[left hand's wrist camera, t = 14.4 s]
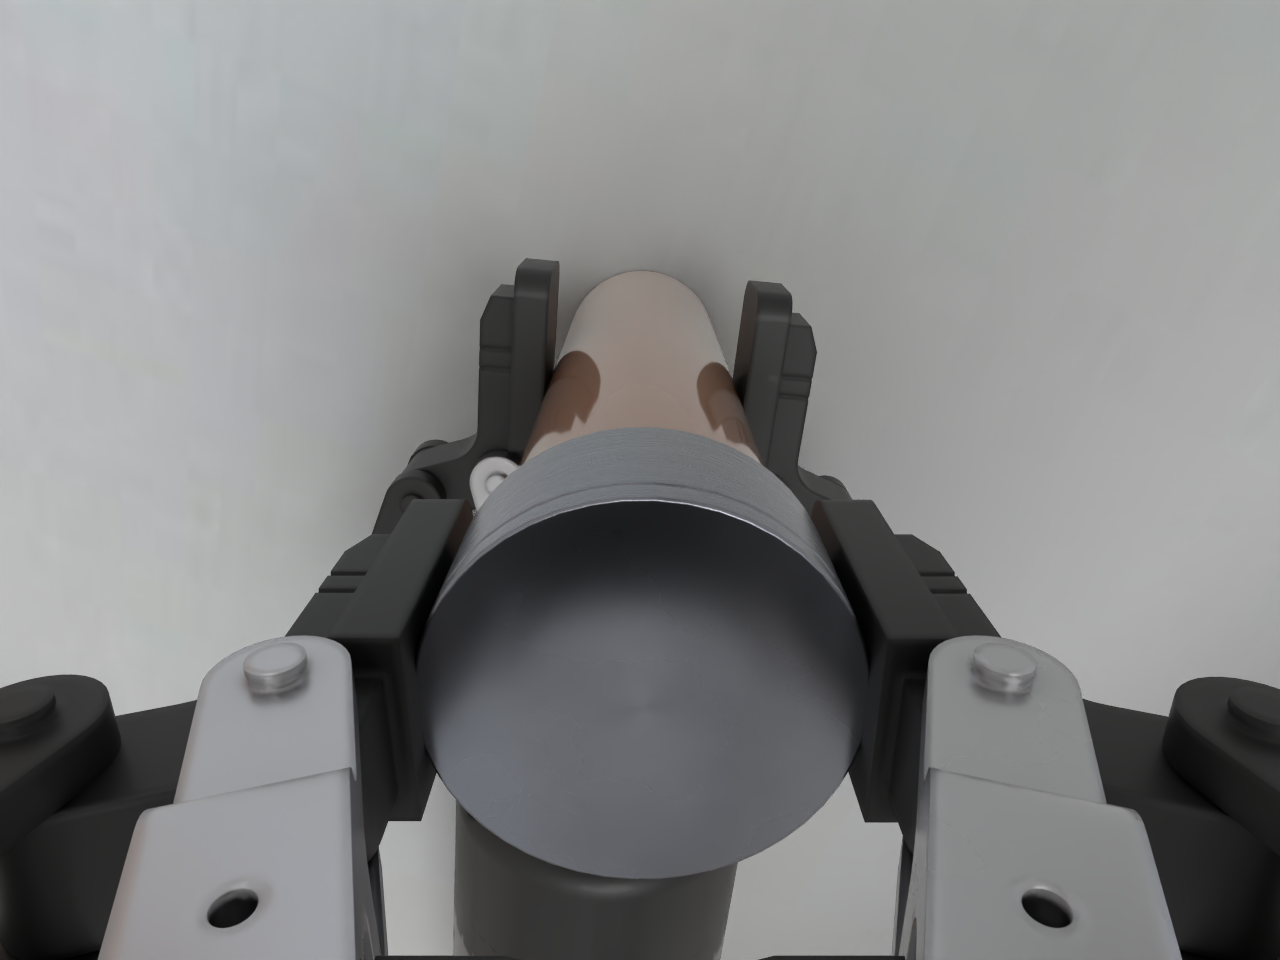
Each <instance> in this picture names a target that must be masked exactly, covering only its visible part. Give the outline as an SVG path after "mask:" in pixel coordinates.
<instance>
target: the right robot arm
mask: <svg viewBox="0 0 1280 960" xmlns="http://www.w3.org/2000/svg"><path fill="white" fill-rule="evenodd" d="M558 289H559V261H549V260H539V259H528V258H526V259H525V260H524V261H523V262H522V263H521V264H520V265H519V266H518V268H517V271H516V277H515V285H504V284H502V285H501V286H500V287H499V288H498V289H497V290H496V291H495V292H494V293H493V294H492V295H491V297H490V299H489V301H488V304H487V306H486V308H485V310H484V313H483V315H482V317H481V319H480V354H479V366H480V368H479V395H478V431H477V433H476V434H475V435H473V436H471V437H469V438H466V439H463V440H459V441H455V442H451V443H448V442H445V441H442V440H430V441H427V442H424V443H423V444H421V445H420V446H419V447H418V448H417V450H416V451H415V452H414V454H413V455H412V456H411V458H410V460H409V463H408V466H407V467H406V468H405V470H404V471H403V473H402V474H400V475H399V476H398V477H397V478H396V479H395V480H394V482H393V483H392V484H391V486H390V487H389V489H388V490H387V492H386V495H385V498H384V501H383V503H382V506H381V509H380V512H379V515H378V518H377V521H376V524H375V526H374V529H373V532H372V534H391V533H392V531H393V530H394V528H395V527H396V525H397V523H398V522H399V520H400V519H401V517H402V515H403V514H404V512H405V511H406V509H407V507H408V506H409V504H410V503H411V501H412V500H414V499H468V500H469V502H470V505H471V508H472V510H474V509H476V510H477V511H478V510H479V508H480V507H481V506H482V504H483V503H484V502H485V500H486V499H487V498H488V496H489V495H490V493H491V492H492V491H493V490H494V489H495V488H496V487H497V486H498V485H499V484H500V483H501V482H502V481H503V480H504V479H505V478H506V477H507V476H508V475H510V474H511V473H512V472H514V471H515V470H516V469H517V468H518V466H519V464H520V461H521V458H522V456H523V453H524V450H525V447H526V445H527V442H528V439H529V437H530V434H531V431H532V429H533V426H534V423H535V421H536V418H537V415H538V412H539V410H540V407H541V404H542V402H543V399H544V396H545V394H546V391H547V388H548V386H549V383H550V380H551V377H552V375H553V372H554V359H555V341H556V324H557V306H558ZM816 354H817V351H816V346H815V342H814V337H813V333H812V328H811V326H810V325H809V324H808V323H807V322H806V320H805V319H804V318H803V317H802V316H801V315H800V314H799V313H792V296H791V293H790V292H789V291H788V290H787V289H786V288H785V287H784V286H783V285H782V284H779V283H769V282H759V281H748V283H747V286H746V290H745V295H744V302H743V309H742V316H741V323H740V330H739V338H738V345H737V352H736V359H735V366H734V373H733V382H734V385H735V387H736V390H737V393H738V395H739V398H740V401H741V403H742V406H743V409H744V411H745V414H746V417H747V419H748V422H749V425H750V427H751V430H752V433H753V435H754V438H755V441H756V443H757V446H758V448H759V451H760V454H761V456H762V459H763V462H764V464H765V467H766V468H767V469H768V470H769V471H771V472H772V473H773V474H774V475H775V476H776V477H778V478H779V479H780V480H781V481H782V482H783V483H784V484H785V485H786V486H787V487H788V488H789V489H790V490H791V491H792V493H793V494H794V495H795V496H796V498H797V499H798V500H799V502H800V503H801V504H802V505H803V507H804V508H805V509H806V511H807V513H808V515H809V516H810V518H811V517H812V511H813V507H814V504H815V502H816V501H817V500H852V498H851V497H850V495H849V493H848V491H847V490H846V488H845V486H844V485H843V484H842V482H840V481H839V480H838V479H836V478H834V477H831V476H817V475H815V474H813V473H810V472H808V471H806V470H804V469H802V468H801V467H799V466H798V457H799V451H800V445H801V440H802V434H803V428H804V423H805V417H806V411H807V405H808V397H809V394H810V388H811V383H812V382H811V379H812V377H813V371H814V365H815V360H816ZM737 863H738V862H737ZM737 863H734V864H731V865H727V866H724V867H721V868H718V869H715V870H712V871H707V872H703V873H698V874H693V875H688V876H682V877H673V878H664V879H622V878H610V877H602V876H597V875H591V874H586V873H581V872H576V871H573V870H570V869H566V868H563V867H560V866H556V865H553V864H550V863H548V862H546V861H543V860H541V859H538V858H536V857H534V856H531V855H529V854H527V853H525V852H523V851H521V850H519V849H518V848H516V847H514V846H512V845H510V844H509V843H507V842H505V841H503V840H502V839H501V838H499V837H498V836H496V835H495V834H494V833H492V832H491V831H489V830H488V829H487V828H485V827H484V826H483V825H481V824H480V823H479V822H478V821H477V820H476V819H475V818H474V817H473V816H472V815H470V814H469V813H468V812H467V811H466V810H465V809H464V808H463V807H462V806H461V805H460V803H459V802H458V801H457V800H456V848H455V889H454V950H453V956H508V957H512V958H517V959H521V960H720V958H721V952H722V947H723V941H724V935H725V929H726V924H727V918H728V913H729V907H730V902H731V897H732V891H733V886H734V880H735V874H736V869H737Z"/></svg>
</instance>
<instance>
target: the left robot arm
mask: <svg viewBox="0 0 1280 960" xmlns="http://www.w3.org/2000/svg"><path fill="white" fill-rule="evenodd" d="M472 520H473V514H472V508H471V505H470V502H469V500H468V499H414V500H412V501H411V503H410V504H409V506H408V507H407V509H406V511H405V512H404V514H403V515H402V517H401V519H400V520H399V522H398V523H397V525H396V527H395V528H394V530H393V531H392V533H391V534H372V535H370V536H369V537H367V538H366V539H364V540H363V541H361V542H359V543H358V544H356V545H355V546H353V547H351V548H350V549H348V550H347V551H345V552H344V554H343V555H342V556H341V558H340V559H339V561H338V562H337V564H336V565H335V566H334V568H333V569H332V571H331V576H327V578H326V579H325V580H324V582H323V583H322V585H321V586H320V588H319V593H315V595H314V596H313V597H312V599H311V600H310V602H309V603H308V604H307V606H306V607H305V609H304V610H303V612H302V613H301V614H300V616H299V617H298V619H297V620H296V621H295V623H294V624H293V626H292V627H291V629H290V630H289V631H288V633H287V634H286V636H285V637H280V638H275V639H270V640H266V641H263V642H259V643H256V644H253V645H251V646H248V647H245V648H243V649H241V650H239V651H237V652H235V653H233V654H231V655H229V656H228V657H226V658H224V659H223V660H222V661H220V662H219V663H218V664H216V665H215V666H214V667H213V668H212V669H211V670H210V671H209V672H208V673H207V675H206V676H205V678H204V679H203V681H202V684H201V686H200V691H199V695H198V699H197V700H195V701H191V702H186V703H182V704H177V705H172V706H167V707H162V708H156V709H151V710H146V711H140V712H135V713H130V714H125V715H119V716H115V714H114V710H113V707H112V703H111V699H110V696H109V692H108V690H107V688H106V686H105V685H104V684H103V683H102V682H100V681H98V680H96V679H94V678H91V677H87V676H81V675H54V676H46V677H40V678H34V679H30V680H26V681H22V682H18V683H15V684H12V685H9V686H6V687H3V688H0V960H521V959H517V958H512V957H508V956H388V946H387V932H386V919H385V905H384V891H383V877H382V866H381V860H380V853H379V844H380V842H381V839H382V837H383V834H384V831H385V829H386V826H387V823H388V821H421V819H422V816H423V813H424V810H425V807H426V804H427V801H428V797H429V794H430V791H431V788H432V785H433V782H434V779H435V776H436V771H435V769H434V767H433V765H432V763H431V761H430V758H429V756H428V754H427V752H426V750H425V745H424V737H423V729H422V720H421V711H420V703H419V694H418V685H417V676H416V665H415V664H416V654H417V649H418V644H419V641H420V639H421V636H422V633H423V630H424V627H425V624H426V622H427V619H428V617H429V615H430V612H431V610H432V608H433V606H434V604H435V601H436V599H437V596H438V594H439V592H440V590H441V587H442V585H443V583H444V581H445V578H446V576H447V574H448V572H449V569H450V567H451V565H452V562H453V560H454V558H455V556H456V553H457V551H458V549H459V547H460V544H461V542H462V540H463V538H464V535H465V533H466V531H467V529H468V527H469V525H470V524H471V522H472ZM811 520H812V522H813V523H814V525H815V527H816V529H817V531H818V533H819V535H820V538H821V540H822V542H823V544H824V547H825V549H826V551H827V553H828V556H829V558H830V560H831V562H832V564H833V567H834V569H835V571H836V573H837V576H838V578H839V580H840V582H841V585H842V587H843V589H844V591H845V593H846V596H847V598H848V601H849V602H850V605H851V607H852V609H853V611H854V614H855V616H856V618H857V621H858V624H859V626H860V629H861V631H862V634H863V637H864V639H865V643H866V647H867V652H868V657H869V661H870V671H869V682H868V691H867V700H866V708H865V716H864V725H863V733H862V740H861V746H860V748H859V750H858V753H857V755H856V757H855V760H854V762H853V764H852V766H851V768H850V769H849V771H848V772H849V775H850V778H851V781H852V784H853V787H854V790H855V794H856V797H857V800H858V803H859V806H860V809H861V812H862V815H863V818H864V821H865V822H898V823H899V826H900V829H901V831H902V834H903V839H902V846H901V853H900V859H899V866H898V877H897V891H896V905H895V918H894V932H893V946H892V956H772V957H768V958H763V959H759V960H1280V689H1277V688H1274V687H1271V686H1268V685H1265V684H1261V683H1257V682H1252V681H1248V680H1242V679H1236V678H1227V677H1205V678H1197V679H1194V680H1190V681H1188V682H1186V683H1184V684H1182V685H1181V686H1180V687H1179V688H1178V689H1177V691H1176V693H1175V696H1174V699H1173V703H1172V706H1171V710H1170V714H1169V717H1166V716H1161V715H1156V714H1151V713H1145V712H1140V711H1135V710H1130V709H1124V708H1119V707H1114V706H1109V705H1104V704H1100V703H1095V702H1092V701H1088V700H1085V699H1082V695H1081V691H1080V687H1079V684H1078V681H1077V679H1076V678H1075V676H1074V675H1073V673H1072V672H1071V671H1070V670H1069V669H1068V668H1067V667H1066V666H1065V665H1064V664H1062V663H1061V662H1060V661H1058V660H1057V659H1056V658H1054V657H1052V656H1051V655H1049V654H1047V653H1045V652H1043V651H1041V650H1039V649H1037V648H1035V647H1032V646H1029V645H1027V644H1024V643H1021V642H1017V641H1014V640H1010V639H1005V638H1001V636H1000V635H999V633H998V632H997V631H996V629H995V628H994V627H993V625H992V624H991V622H990V621H989V620H988V618H987V617H986V615H985V614H984V613H983V611H982V610H981V608H980V607H979V606H978V604H977V603H976V601H975V600H974V599H973V597H972V596H971V595H970V594H967V589H966V588H965V586H964V585H963V583H962V582H961V581H960V579H959V578H958V576H955V575H954V573H955V572H954V571H953V570H952V568H951V567H950V565H949V564H948V563H947V561H946V560H945V558H944V557H943V556H942V554H941V553H940V552H939V551H937V550H936V549H934V548H933V547H931V546H929V545H928V544H926V543H925V542H923V541H921V540H920V539H918V538H917V537H915V536H913V535H894V533H893V532H892V530H891V529H890V527H889V525H888V524H887V522H886V521H885V519H884V518H883V516H882V514H881V513H880V511H879V510H878V508H877V507H876V505H875V503H874V502H873V501H872V500H817V501H816V502H815V504H814V507H813V511H812V517H811Z"/></svg>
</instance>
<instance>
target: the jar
mask: <svg viewBox="0 0 1280 960" xmlns="http://www.w3.org/2000/svg"><path fill="white" fill-rule="evenodd" d="M629 427H655V428H664V429H673V430H681V431H685V432H689V433H693V434H697V435H701V436H705V437H708V438H711V439H713V440H716V441H718V442H721V443H724V444H726V445H729V446H731V447H733V448H735V449H737V450H738V451H740V452H742V453H744V454H746V455H748V456H749V457H751V458H753V459H754V460H756V461H757V462H758V463H760V464H761V465H763V466H764V467H765V464H764V462H763V459H762V456H761V454H760V451H759V448H758V446H757V443H756V441H755V438H754V435H753V433H752V430H751V427H750V425H749V422H748V419H747V417H746V414H745V411H744V409H743V406H742V403H741V401H740V398H739V395H738V393H737V390H736V387H735V385H734V382H733V379H732V377H731V374H730V371H729V369H728V366H727V363H726V361H725V358H724V355H723V353H722V350H721V348H720V345H719V342H718V340H717V337H716V334H715V332H714V329H713V326H712V324H711V321H710V318H709V316H708V314H707V311H706V309H705V308H704V306H703V304H702V303H701V301H700V300H699V299H698V297H697V296H696V295H695V294H694V293H693V292H692V291H691V290H690V289H689V288H688V287H687V286H685V285H684V284H683V283H681V282H680V281H678V280H676V279H674V278H672V277H670V276H667V275H665V274H661V273H657V272H652V271H631V272H625V273H622V274H619V275H615V276H613V277H611V278H609V279H607V280H605V281H604V282H602V283H600V284H599V285H597V286H596V287H595V288H594V289H593V290H592V291H591V292H590V293H589V294H588V295H587V296H586V297H585V298H584V300H583V301H582V303H581V304H580V306H579V307H578V309H577V311H576V313H575V316H574V318H573V321H572V324H571V326H570V329H569V332H568V334H567V337H566V340H565V342H564V345H563V348H562V351H561V353H560V356H559V359H558V361H557V364H556V367H555V369H554V372H553V375H552V377H551V380H550V383H549V386H548V388H547V391H546V394H545V396H544V399H543V402H542V404H541V407H540V410H539V412H538V415H537V418H536V421H535V423H534V426H533V429H532V431H531V434H530V437H529V439H528V442H527V445H526V447H525V450H524V453H523V456H522V458H521V461H520V464H519V466H518V468H519V467H520V466H521V465H523V464H524V463H525V462H527V461H528V460H530V459H531V458H533V457H535V456H537V455H538V454H540V453H542V452H544V451H545V450H547V449H549V448H551V447H553V446H556V445H558V444H561V443H563V442H566V441H568V440H570V439H573V438H576V437H580V436H583V435H587V434H591V433H595V432H598V431H605V430H612V429H619V428H629ZM765 468H766V467H765Z"/></svg>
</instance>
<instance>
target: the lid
mask: <svg viewBox="0 0 1280 960" xmlns="http://www.w3.org/2000/svg"><path fill="white" fill-rule="evenodd" d="M415 665H416V676H417V685H418V694H419V703H420V711H421V720H422V729H423V737H424V745H425V750H426V752H427V754H428V756H429V758H430V761H431V763H432V765H433V767H434V769H435V771H436V772H437V774H438V775H439V777H440V778H441V780H442V781H443V783H444V785H445V786H446V788H447V789H448V790H449V792H450V793H451V794H452V795H453V796H454V797H455V799H456V800H457V801H458V802H459V803H460V805H461V806H462V807H463V808H464V809H465V810H466V811H467V812H468V813H469V814H470V815H472V816H473V817H474V818H475V819H476V820H477V821H478V822H479V823H480V824H481V825H483V826H484V827H485V828H487V829H488V830H489V831H491V832H492V833H494V834H495V835H496V836H498V837H499V838H501V839H502V840H503V841H505V842H507V843H509V844H510V845H512V846H514V847H516V848H518V849H519V850H521V851H523V852H525V853H527V854H529V855H531V856H534V857H536V858H538V859H541V860H543V861H546V862H548V863H550V864H553V865H556V866H560V867H563V868H566V869H570V870H573V871H576V872H581V873H586V874H591V875H597V876H602V877H610V878H622V879H664V878H673V877H682V876H688V875H693V874H698V873H703V872H707V871H712V870H715V869H718V868H721V867H724V866H727V865H731V864H734V863H737V862H739V861H741V860H744V859H746V858H748V857H750V856H753V855H755V854H757V853H760V852H762V851H763V850H765V849H767V848H769V847H770V846H772V845H774V844H775V843H777V842H779V841H781V840H782V839H784V838H785V837H787V836H788V835H789V834H791V833H792V832H794V831H795V830H796V829H798V828H799V827H800V826H802V825H803V824H804V823H805V822H806V821H808V820H809V819H810V818H811V817H812V816H813V815H814V814H815V813H816V812H817V811H818V810H819V809H820V808H821V807H822V806H823V805H824V804H825V803H826V802H827V800H828V799H829V798H830V797H831V795H832V794H833V793H834V792H835V791H836V789H837V788H838V787H839V786H840V784H841V782H842V781H843V779H844V777H845V776H846V774H847V773H848V771H849V769H850V768H851V766H852V764H853V762H854V760H855V757H856V755H857V753H858V750H859V748H860V746H861V740H862V733H863V725H864V716H865V708H866V700H867V691H868V682H869V671H870V661H869V657H868V652H867V647H866V643H865V639H864V637H863V634H862V631H861V629H860V626H859V624H858V621H857V618H856V616H855V614H854V611H853V609H852V607H851V605H850V602H849V601H848V598H847V596H846V593H845V591H844V589H843V587H842V585H841V582H840V580H839V578H838V576H837V573H836V571H835V569H834V567H833V564H832V562H831V560H830V558H829V556H828V553H827V551H826V549H825V547H824V544H823V542H822V540H821V538H820V535H819V533H818V531H817V529H816V527H815V525H814V523H813V522H812V520H811V518H810V516H809V515H808V513H807V511H806V509H805V508H804V507H803V505H802V504H801V503H800V502H799V500H798V499H797V498H796V496H795V495H794V494H793V493H792V491H791V490H790V489H789V488H788V487H787V486H786V485H785V484H784V483H783V482H782V481H781V480H780V479H779V478H778V477H776V476H775V475H774V474H773V473H772V472H771V471H769V470H768V469H767V468H765V467H764V466H763V465H761V464H760V463H758V462H757V461H756V460H754V459H753V458H751V457H749V456H748V455H746V454H744V453H742V452H740V451H738V450H737V449H735V448H733V447H731V446H729V445H726V444H724V443H721V442H718V441H716V440H713V439H711V438H708V437H705V436H701V435H697V434H693V433H689V432H685V431H681V430H673V429H664V428H655V427H629V428H619V429H612V430H605V431H598V432H595V433H591V434H587V435H583V436H580V437H576V438H573V439H570V440H568V441H566V442H563V443H561V444H558V445H556V446H553V447H551V448H549V449H547V450H545V451H544V452H542V453H540V454H538V455H537V456H535V457H533V458H531V459H530V460H528V461H527V462H525V463H524V464H523V465H521V466H520V467H519V468H517V469H516V470H515V471H514V472H512V473H511V474H510V475H508V476H507V477H506V478H505V479H504V480H503V481H502V482H501V483H500V484H499V485H498V486H497V487H496V488H495V489H494V490H493V491H492V492H491V493H490V495H489V496H488V498H487V499H486V500H485V502H484V503H483V504H482V506H481V507H480V508H479V510H478V511H477V512H476V514H475V516H474V518H473V520H472V522H471V524H470V525H469V527H468V529H467V531H466V533H465V535H464V538H463V540H462V542H461V544H460V547H459V549H458V551H457V553H456V556H455V558H454V560H453V562H452V565H451V567H450V569H449V572H448V574H447V576H446V578H445V581H444V583H443V585H442V587H441V590H440V592H439V594H438V596H437V599H436V601H435V604H434V606H433V608H432V610H431V612H430V615H429V617H428V619H427V622H426V624H425V627H424V630H423V633H422V636H421V639H420V641H419V644H418V649H417V654H416V664H415Z"/></svg>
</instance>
